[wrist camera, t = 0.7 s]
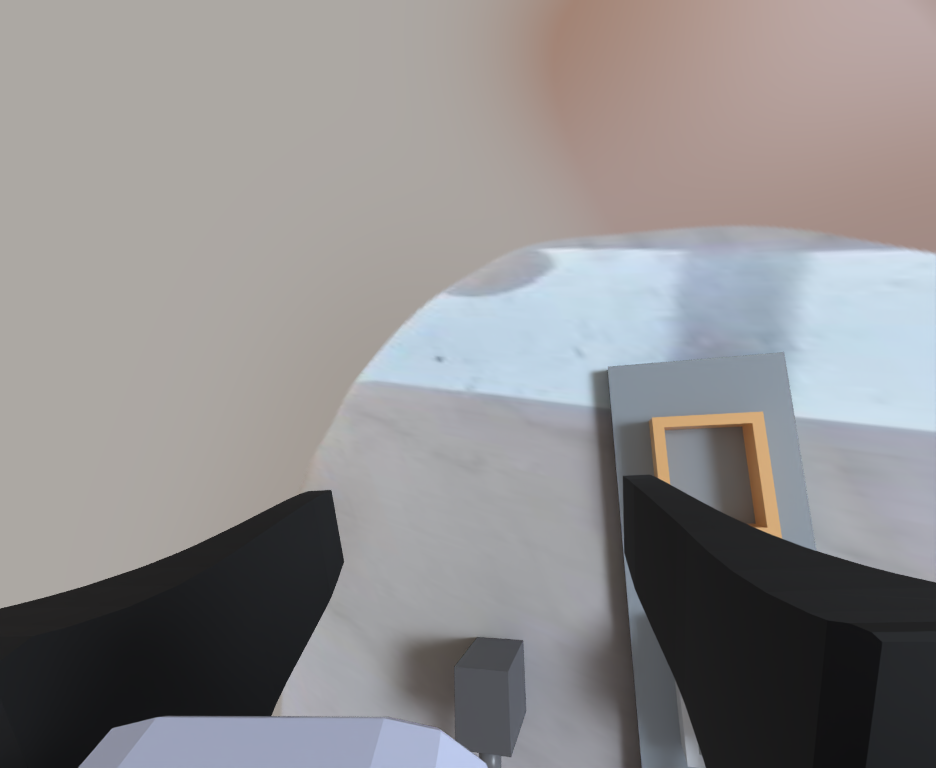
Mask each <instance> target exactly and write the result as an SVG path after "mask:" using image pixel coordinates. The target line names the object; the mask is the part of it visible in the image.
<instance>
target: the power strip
mask: <svg viewBox="0 0 936 768" xmlns="http://www.w3.org/2000/svg"><path fill="white" fill-rule="evenodd" d="M608 380H609V392H610V403H611V415H612V427H613V439H614V450H615V462H616V474H617V486H618V497H619V509H620V521H621V533H622V544H623V556H624V568H625V579H626V591H627V603H628V615H629V626H630V638H631V650H632V662H633V673H634V685H635V697H636V709H637V720H638V732H639V744H640V756H641V767H642V768H706V766H705V763H704V760H703V757H702V754H701V751H700V748H699V745H698V742H697V739H696V736H695V733H694V730H693V727H692V724H691V721H690V718H689V715H688V712H687V709H686V706H685V703H684V701H683V698H682V696H681V693H680V691H679V688H678V686H677V683H676V681H675V678H674V676H673V674H672V672H671V669H670V667H669V665H668V663H667V661H666V658H665V656H664V654H663V652H662V649H661V647H660V645H659V643H658V640H657V638H656V636H655V634H654V632H653V629H652V627H651V625H650V623H649V620H648V618H647V616H646V614H645V611H644V609H643V607H642V605H641V602H640V600H639V598H638V595H637V593H636V591H635V588H634V584H633V581H632V578H631V575H630V571H629V568H628V564H627V561H626V557H625V554H624V518H623V476H628V475H648V474H649V475H652V476H655V477H657V478H659V479H661V480H663V481H665V482H666V483H668V484H670V485H672V486H674V487H676V488H677V489H679V490H681V491H683V492H685V493H686V494H688V495H690V496H692V497H694V498H696V499H697V500H699V501H701V502H703V503H705V504H707V505H709V506H711V507H713V508H714V509H716V510H718V511H720V512H722V513H724V514H726V515H729V516H731V517H733V518H735V519H737V520H739V521H741V522H744V523H746V524H748V525H750V526H752V527H754V528H757V529H759V530H762V531H764V532H766V533H769V534H771V535H774V536H777V537H779V538H782V539H784V540H787V541H790V542H792V543H795V544H798V545H800V546H803V547H806V548H809V549H812V550H815V551H816V545H815V539H814V533H813V527H812V520H811V514H810V508H809V502H808V496H807V490H806V484H805V477H804V471H803V465H802V459H801V453H800V447H799V441H798V434H797V428H796V422H795V416H794V410H793V404H792V398H791V391H790V385H789V379H788V373H787V367H786V361H785V355H784V352H781V353H769V354H757V355H745V356H733V357H721V358H709V359H697V360H684V361H672V362H660V363H648V364H636V365H624V366H612V367H608Z"/></svg>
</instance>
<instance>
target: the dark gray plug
mask: <svg viewBox="0 0 936 768" xmlns="http://www.w3.org/2000/svg"><path fill="white" fill-rule="evenodd" d="M454 682H455V740H456V741H457V742H459V743H460V744H461V745H463V746H464V747H465V748H467V749H468V750H469V751H471V752H477V753H479V758H480V759H481V760H482V761H483V762H485V763H486V765H487V767H488V768H501V756H506V757H511V756H512V753H513V750H514V747H515V744H516V741H517V738H518V735H519V732H520V728H521V725H522V722H523V719H524V716H525V713H526V694H525V671H524V648H523V640H511V639H497V638H482V637H477V638H476V640H475V641H474V642H473V643H472V645H471V646H470V647H469V649H468V650H467V651H466V653H465V654H464V655H463V656H462V658H461V659H460V660H459V662H458V663H457V664H456V665H455V667H454Z"/></svg>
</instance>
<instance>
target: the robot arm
mask: <svg viewBox="0 0 936 768" xmlns="http://www.w3.org/2000/svg"><path fill="white" fill-rule="evenodd" d="M623 518H624V554H625V557H626V561H627V564H628V568H629V571H630V575H631V578H632V581H633V584H634V588H635V591H636V593H637V595H638V598H639V600H640V602H641V605H642V607H643V609H644V611H645V614H646V616H647V618H648V620H649V623H650V625H651V627H652V629H653V632H654V634H655V636H656V638H657V640H658V643H659V645H660V647H661V649H662V652H663V654H664V656H665V658H666V661H667V663H668V665H669V667H670V669H671V672H672V674H673V676H674V678H675V681H676V683H677V686H678V688H679V691H680V693H681V696H682V698H683V701H684V703H685V706H686V709H687V712H688V715H689V718H690V721H691V724H692V727H693V730H694V733H695V736H696V739H697V742H698V745H699V748H700V751H701V754H702V757H703V760H704V763H705V766H706V768H936V583H935V582H930V581H926V580H922V579H917V578H913V577H908V576H904V575H900V574H895V573H891V572H887V571H884V570H880V569H876V568H872V567H868V566H864V565H861V564H858V563H854V562H851V561H847V560H844V559H841V558H837V557H834V556H831V555H827V554H824V553H821V552H818V551H815V550H812V549H809V548H806V547H803V546H800V545H798V544H795V543H792V542H790V541H787V540H784V539H782V538H779V537H777V536H774V535H771V534H769V533H766V532H764V531H762V530H759V529H757V528H754V527H752V526H750V525H748V524H746V523H744V522H741V521H739V520H737V519H735V518H733V517H731V516H729V515H726V514H724V513H722V512H720V511H718V510H716V509H714V508H713V507H711V506H709V505H707V504H705V503H703V502H701V501H699V500H697V499H696V498H694V497H692V496H690V495H688V494H686V493H685V492H683V491H681V490H679V489H677V488H676V487H674V486H672V485H670V484H668V483H666V482H665V481H663V480H661V479H659V478H657V477H655V476H652V475H649V474H648V475H628V476H623ZM343 563H344V559H343V553H342V548H341V542H340V536H339V531H338V525H337V519H336V514H335V508H334V502H333V497H332V491H331V490H324V491H308V492H305V493H302V494H299V495H297V496H294V497H292V498H290V499H288V500H286V501H284V502H282V503H280V504H278V505H276V506H274V507H272V508H270V509H268V510H266V511H264V512H262V513H260V514H258V515H256V516H254V517H252V518H250V519H248V520H246V521H244V522H243V523H241V524H239V525H237V526H235V527H232V528H230V529H228V530H226V531H224V532H222V533H220V534H218V535H216V536H214V537H212V538H210V539H207V540H205V541H203V542H201V543H199V544H197V545H195V546H193V547H190V548H188V549H186V550H183V551H181V552H179V553H176V554H174V555H172V556H169V557H167V558H164V559H161V560H159V561H156V562H154V563H151V564H149V565H146V566H143V567H141V568H138V569H135V570H132V571H129V572H126V573H123V574H120V575H117V576H114V577H111V578H108V579H105V580H102V581H99V582H97V583H93V584H90V585H87V586H84V587H81V588H77V589H74V590H70V591H66V592H63V593H59V594H56V595H52V596H49V597H45V598H41V599H37V600H33V601H29V602H25V603H21V604H18V605H14V606H9V607H5V608H1V609H0V768H488V767H487V765H486V763H485V762H483V761H482V760H481V759H480V758H479V757H478V756H476V755H475V754H473V753H472V752H471V751H469V750H468V749H467V748H465V747H464V746H463V745H461V744H460V743H459V742H457V741H456V740H454V739H453V738H452V737H450V736H449V735H448V734H446V733H445V732H444V731H442V730H441V729H439V728H438V727H433V726H428V725H424V724H419V723H415V722H410V721H405V720H401V719H396V718H391V717H309V716H278V717H277V716H271V715H272V713H273V710H274V708H275V705H276V703H277V701H278V699H279V697H280V695H281V693H282V691H283V689H284V686H285V684H286V682H287V680H288V678H289V677H290V675H291V673H292V671H293V669H294V667H295V665H296V663H297V662H298V660H299V658H300V656H301V654H302V652H303V650H304V648H305V647H306V645H307V643H308V641H309V639H310V637H311V635H312V633H313V632H314V630H315V628H316V626H317V624H318V622H319V620H320V618H321V616H322V614H323V612H324V611H325V609H326V607H327V605H328V603H329V601H330V599H331V597H332V594H333V591H334V589H335V586H336V583H337V581H338V578H339V575H340V572H341V569H342V566H343Z"/></svg>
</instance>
